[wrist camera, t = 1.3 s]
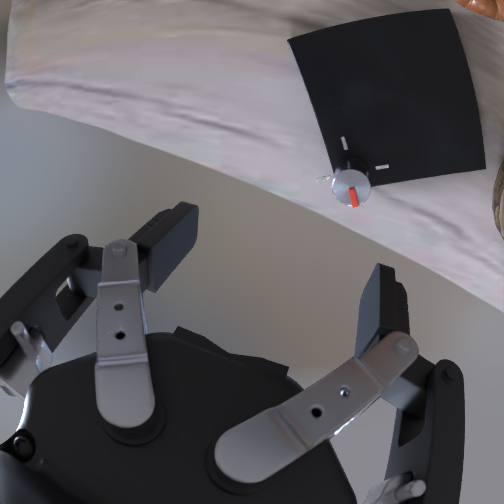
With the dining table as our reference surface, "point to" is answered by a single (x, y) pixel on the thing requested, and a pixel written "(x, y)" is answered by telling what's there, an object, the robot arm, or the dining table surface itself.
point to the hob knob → (351, 181)
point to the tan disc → (499, 201)
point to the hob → (394, 95)
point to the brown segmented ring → (485, 7)
